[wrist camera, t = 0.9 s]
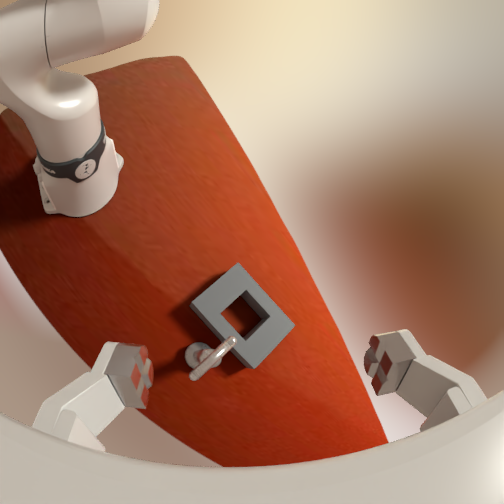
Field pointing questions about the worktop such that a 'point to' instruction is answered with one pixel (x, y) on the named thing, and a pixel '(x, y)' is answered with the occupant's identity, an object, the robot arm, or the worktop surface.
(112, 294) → the worktop surface
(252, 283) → the grey block with hole
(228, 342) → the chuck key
